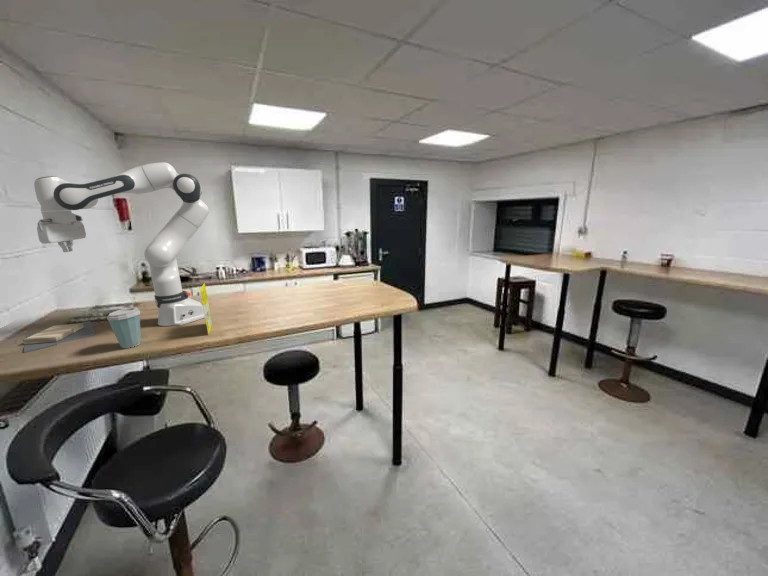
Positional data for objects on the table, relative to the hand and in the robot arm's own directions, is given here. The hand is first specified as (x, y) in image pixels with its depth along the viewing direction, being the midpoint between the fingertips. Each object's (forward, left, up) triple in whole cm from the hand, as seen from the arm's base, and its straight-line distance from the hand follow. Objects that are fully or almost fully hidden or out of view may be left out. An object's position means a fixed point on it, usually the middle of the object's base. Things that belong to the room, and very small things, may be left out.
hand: (68, 251), depth 136 cm
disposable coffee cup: (-10, +30, -37) cm, 49 cm away
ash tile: (+7, -14, -35) cm, 39 cm away
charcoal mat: (+10, -8, -37) cm, 39 cm away
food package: (-38, +37, -37) cm, 65 cm away
